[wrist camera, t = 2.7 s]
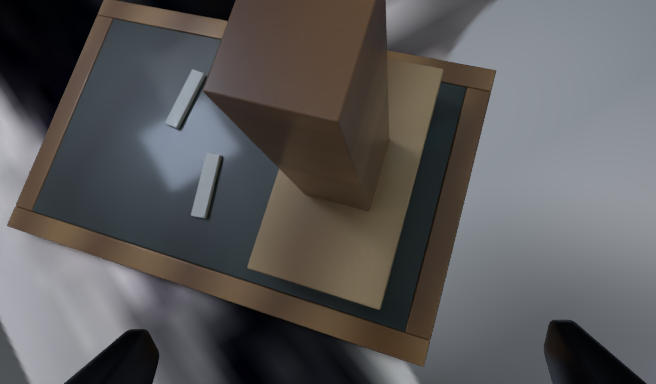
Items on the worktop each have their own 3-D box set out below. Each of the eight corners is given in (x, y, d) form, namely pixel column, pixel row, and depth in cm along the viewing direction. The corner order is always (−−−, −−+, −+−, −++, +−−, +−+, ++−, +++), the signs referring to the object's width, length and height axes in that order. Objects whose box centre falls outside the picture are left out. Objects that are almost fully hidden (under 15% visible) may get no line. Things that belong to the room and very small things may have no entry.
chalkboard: (491, 81, 22) (496, 70, 21) (422, 362, 20) (423, 367, 19) (116, 10, 27) (104, -3, 26) (24, 228, 25) (5, 225, 24)
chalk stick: (222, 155, 23) (220, 154, 22) (206, 218, 22) (204, 218, 22) (208, 153, 23) (206, 152, 22) (193, 216, 22) (190, 215, 22)
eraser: (437, 95, 21) (500, -173, 9) (381, 306, 20) (360, 347, 7) (327, 73, 23) (245, -189, 10) (265, 270, 21) (70, 248, 8)
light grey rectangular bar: (206, 75, 24) (203, 73, 23) (178, 129, 23) (176, 127, 23) (194, 71, 24) (192, 68, 24) (167, 125, 23) (164, 123, 23)
